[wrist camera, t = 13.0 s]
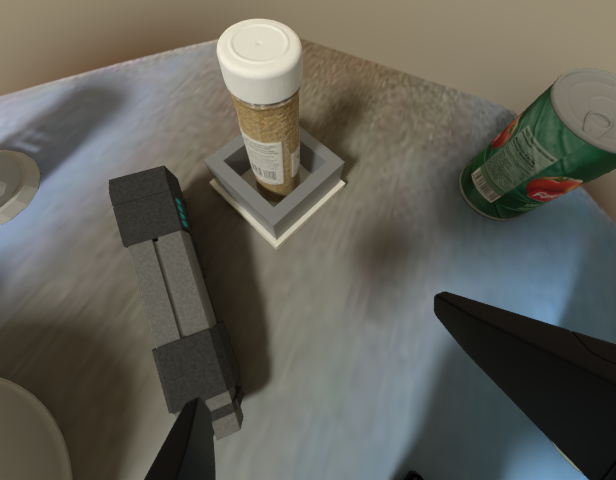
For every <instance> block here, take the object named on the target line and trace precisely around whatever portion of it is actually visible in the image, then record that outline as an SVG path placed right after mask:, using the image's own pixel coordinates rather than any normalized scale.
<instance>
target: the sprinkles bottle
mask: <svg viewBox="0 0 616 480" xmlns="http://www.w3.org/2000/svg"><path fill="white" fill-rule="evenodd" d="M217 55H218V59H219V63H220V67H221V71H222V74H223V77H224V81H225V84H226V86H227V88H228V89H229V92H230V93H231V95H232V97H233V102H234V105H235V108H236V112H237V116H238V119H239V126H240V129H241V133H242V136H243V140H244V143H245V146H246V150H247V153H248V157H249V160H250V163H251V167H252V170H253V172H254V174H255V177H256V180H257V181H256V185H257V189H258V191H259V192H260V194H261V195H262V196H263V197H265V198H267V199H268V200H271V201H275V202H281V201H282V200H283V199H284V198H285V197H287V196H288V195H289V194H290V193H291V192H292V191H293V190H295V189H296V188H297V187H298V186H299V185H300V177H299V165H300V130H299V89H300V85H301V82H302V68H303V65H302V45H301V42H300V39H299V38H298V36H297V35H296V33H295V32H294V31H293V30H292V29H290V28H289V27H288V26H286V25H284V24H282V23H279V22H277V21H273V20H268V19H250V20H245V21H242V22H239V23H237V24H234V25H233V26H231V27H229V28H228V29H227V30H226V31H225V32H224V33H223V34H222V35H221V37H220V39H219V41H218V45H217Z"/></svg>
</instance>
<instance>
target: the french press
mask: <svg viewBox="0 0 616 480" xmlns="http://www.w3.org/2000/svg"><path fill="white" fill-rule="evenodd" d="M40 174H41V173H40V171H39V169H38V166H37V164H36V162H35V160H33V159H32V158H30V157H29V156H27V155H26V154H24V153H23V152H17V151H11V150H0V225H1V224H3V223H5V222H8V221H10V220H11V219H13V218H14V217H15V216H16V215H17V214H18V213H20V212H21V211H22V210H23V209H24V208H25V207H27V206H28V205H29V203H30V201H31V200H32V198H33V197H34V195H35V193H36V192H37V190H38V188H39V181H40Z"/></svg>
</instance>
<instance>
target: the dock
mask: <svg viewBox="0 0 616 480" xmlns="http://www.w3.org/2000/svg"><path fill="white" fill-rule="evenodd" d="M299 130H300V165H299V177H300V185H299V186H298V187H297V188H296V189H295V190H293V191H292V192H291V193H290V194H289V195H288V196H287V197H285V198H284V199H283V200H282V201H281V202H275V201H271V200H268V199H267V198H265V197H263V196H262V195H261V194H260V192H259V191H258V189H257V185H256V181H257V180H256V177H255V174H254V172H253V170H252V167H251V163H250V160H249V157H248V153H247V150H246V146H245V143H244V140H243V136H242V133H241V134H240V135H238V136H237V137H236V138H234V139H233V140H232V141H230V142H229V143H227V144H226V145H225V146H223V147H222V148H220V149H219V150H218V151H216V152H215V153H213V154H212V155H211V156H209V157H208V158H206V159H205V160H204V162H205V163H206V165H207V167H208V169H209V171H210V172H211V174H212V176H213V178H214V179H213V180H211V181H210V182H209V183H210V185H211V186H212V188H213V189H214V190H215V191H216V192H218V193H219V194H220V195H221V196H222V197H223V198H224V199H225V200H226V201H227V202H228V203H229V204H230V205H231V206H232V207H233V208H234V209H235V210H236V211H237V212H238V213H239V214H240V215H241V216H242V217H243V218H244V219H245V220H246V221H247V222H248V223H249V224H251V225H252V226H253V227H254V228H255V229H256V230H257V231H258V232H259V233H260V234H261V235H262V236H263V237H264V238H265V239H266V240H267V241H268V242H269V243H270V244H271V245H272V246H273V247H274V248H275V249H276V250H278V249H279V248H280V247H281V246H283V245H284V244H285V243H286V242H287V241H288V240H289V239H290V238H291V237H292V236H293V235H294V234H295V233H296V232H297V231H299V230H300V229H301V228H302V227H303V226H304V225H305V224H306V223H307V222H308V221H309V220H310V219H311V218H312V217H313V216H315V215H316V214H317V213H318V212H319V211H320V210H321V209H322V208H323V207H324V206H325V205H326V204H327V203H328V202H330V201H331V200H332V199H333V198H334V197H335V196H336V195H337V194H338V193H339V192H340V191H341V190H342V189H343V188H344V186H345V182H343V181H342V180H341V179H340V177H341V174H342V170H343V167H344V163H345V162H344V161H343V160H342V159H340V158H339V157H338V156H337V155H335V154H334V153H333V152H332V151H330V150H329V149H328V148H327V147H325V146H324V145H323V144H322V143H320V142H319V141H318V140H317V139H315V138H314V137H313V136H312V135H310V134H309V133H308V132H307V131H305V130H304V129H303V128H302V127H300V126H299Z"/></svg>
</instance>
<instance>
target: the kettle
mask: <svg viewBox="0 0 616 480" xmlns="http://www.w3.org/2000/svg"><path fill="white" fill-rule="evenodd" d="M0 480H73V475H72V468H71V462H70V457H69V453H68V450H67V446H66V443H65V440H64V438H63V435H62V433H61V431H60V428H59V426H58V425H57V423H56V421H55V419H54V418H53V416H52V415H51V413H50V412H49V410H48V409H47V408H46V407H45V406H44V404H43V403H42V402H41V401H40V400H39V399H38V398H37V397H35V396H34V395H33V394H32V393H31V392H29V391H28V390H26V389H25V388H23V387H21V386H20V385H18V384H16V383H14V382H12V381H9V380H7V379H4V378H1V377H0Z"/></svg>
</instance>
